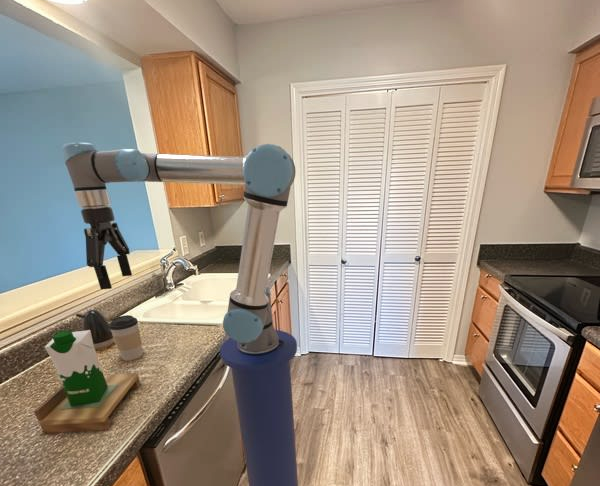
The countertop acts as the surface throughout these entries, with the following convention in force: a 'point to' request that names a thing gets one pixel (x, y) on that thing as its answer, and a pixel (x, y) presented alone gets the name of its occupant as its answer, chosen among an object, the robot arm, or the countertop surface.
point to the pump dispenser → (97, 328)
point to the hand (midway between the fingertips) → (117, 281)
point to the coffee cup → (127, 337)
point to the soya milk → (77, 366)
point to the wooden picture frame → (84, 407)
